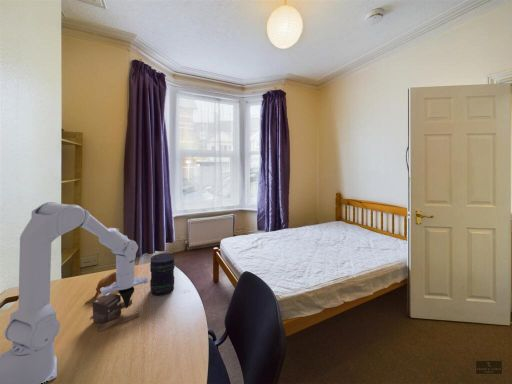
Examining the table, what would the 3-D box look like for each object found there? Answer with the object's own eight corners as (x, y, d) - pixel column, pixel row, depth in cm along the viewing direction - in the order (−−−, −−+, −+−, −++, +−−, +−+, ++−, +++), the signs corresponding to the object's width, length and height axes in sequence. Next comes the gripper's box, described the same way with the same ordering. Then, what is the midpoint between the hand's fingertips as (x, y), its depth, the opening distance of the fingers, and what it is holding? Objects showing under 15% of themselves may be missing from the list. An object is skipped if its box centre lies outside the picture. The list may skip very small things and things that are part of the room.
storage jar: (173, 282, 103) (174, 252, 102) (175, 293, 94) (175, 260, 93) (150, 286, 99) (150, 254, 97) (149, 298, 90) (149, 263, 89)
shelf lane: (98, 331, 71) (98, 327, 70) (94, 314, 79) (94, 310, 79) (139, 316, 79) (139, 312, 79) (131, 302, 87) (131, 298, 87)
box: (106, 325, 73) (106, 305, 73) (92, 321, 75) (91, 302, 74) (121, 313, 79) (121, 295, 79) (108, 310, 81) (107, 292, 80)
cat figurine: (90, 309, 83) (87, 275, 81) (79, 304, 85) (76, 271, 83) (132, 285, 99) (131, 256, 97) (122, 281, 102) (120, 253, 100)
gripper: (143, 262, 87) (144, 294, 88) (99, 273, 77) (100, 309, 79) (149, 269, 82) (149, 303, 83) (102, 281, 72) (103, 319, 73)
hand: (126, 306), depth 81 cm, fingers closed
